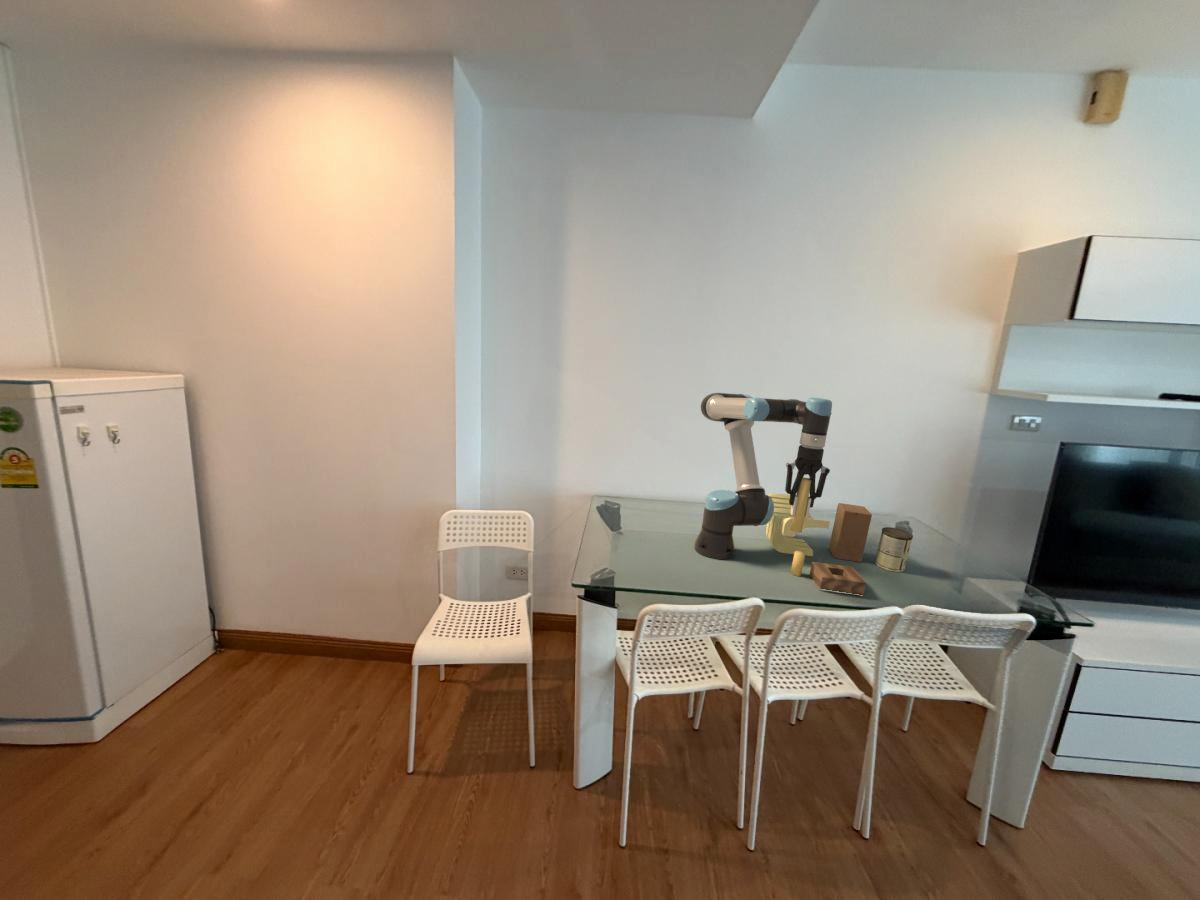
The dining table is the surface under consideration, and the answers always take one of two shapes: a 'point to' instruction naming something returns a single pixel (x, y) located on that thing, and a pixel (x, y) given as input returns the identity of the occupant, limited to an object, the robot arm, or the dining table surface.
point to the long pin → (801, 505)
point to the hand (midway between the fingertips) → (798, 515)
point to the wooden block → (850, 532)
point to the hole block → (837, 578)
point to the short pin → (797, 563)
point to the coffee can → (893, 549)
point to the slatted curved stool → (788, 527)
